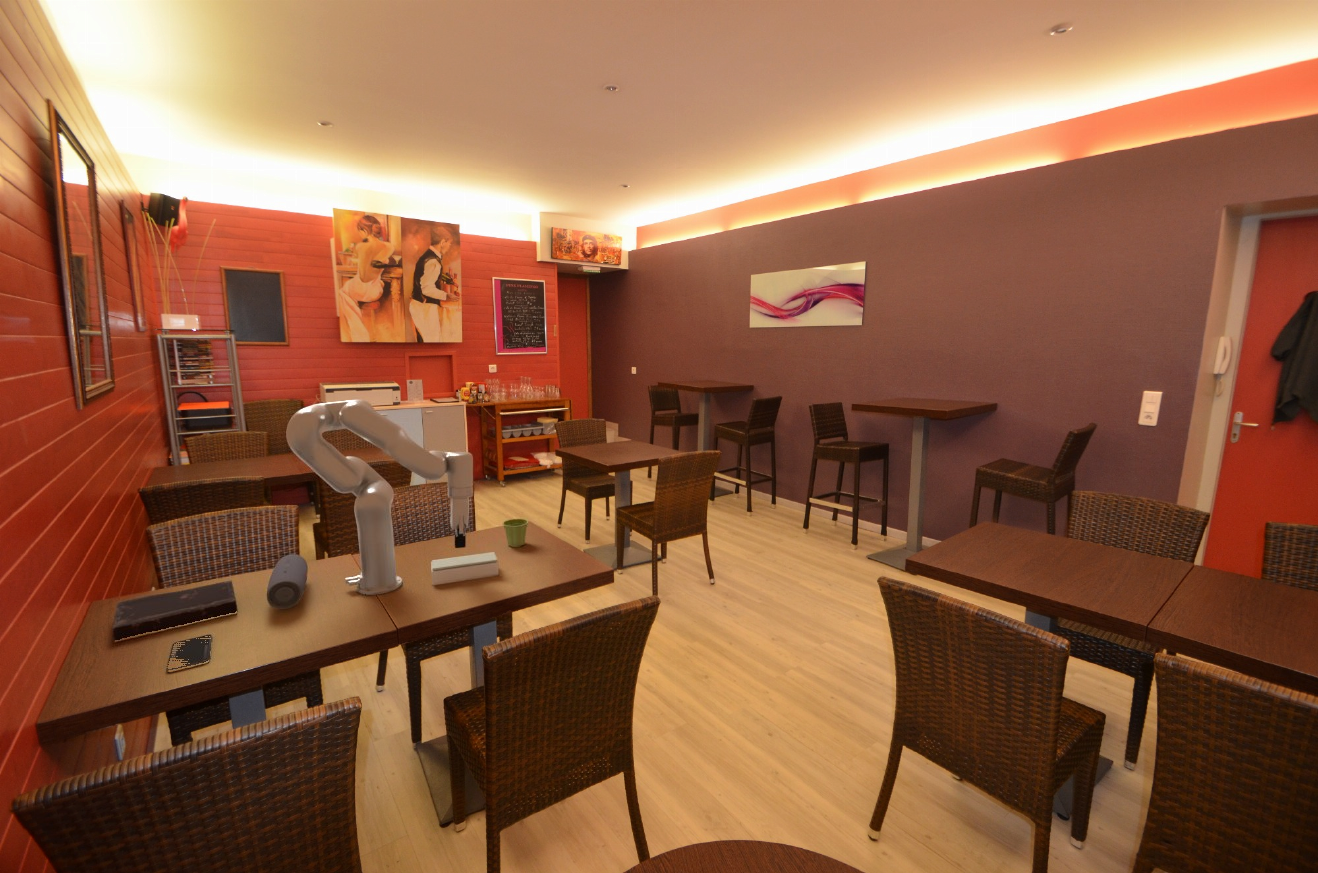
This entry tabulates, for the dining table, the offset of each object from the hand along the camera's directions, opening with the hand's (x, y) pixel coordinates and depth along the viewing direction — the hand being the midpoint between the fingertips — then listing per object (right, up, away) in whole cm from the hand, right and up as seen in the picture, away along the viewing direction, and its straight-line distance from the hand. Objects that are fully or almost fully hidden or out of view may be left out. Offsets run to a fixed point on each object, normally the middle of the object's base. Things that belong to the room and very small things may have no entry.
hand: (460, 546), depth 182 cm
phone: (-50, -18, -44) cm, 69 cm away
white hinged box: (+1, -10, +3) cm, 10 cm away
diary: (-69, -15, -25) cm, 75 cm away
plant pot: (+10, -5, +32) cm, 34 cm away
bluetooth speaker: (-46, -13, -13) cm, 49 cm away
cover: (+1, -5, +2) cm, 6 cm away
